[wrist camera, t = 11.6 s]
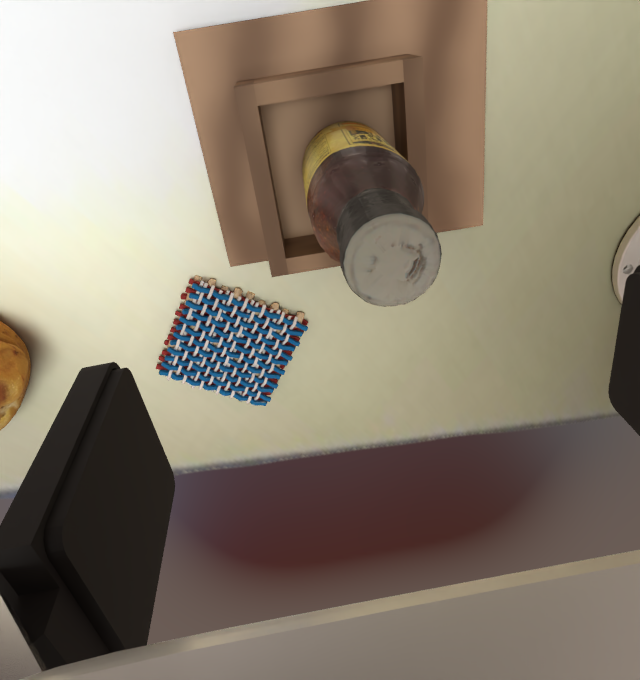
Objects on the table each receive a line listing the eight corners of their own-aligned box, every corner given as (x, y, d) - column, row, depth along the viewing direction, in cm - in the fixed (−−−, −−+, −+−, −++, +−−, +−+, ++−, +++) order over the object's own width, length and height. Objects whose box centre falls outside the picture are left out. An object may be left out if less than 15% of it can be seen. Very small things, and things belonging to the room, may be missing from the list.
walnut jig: (481, -18, 35) (512, -24, 30) (477, 220, 43) (502, 242, 38) (176, 32, 34) (162, 33, 30) (231, 260, 43) (227, 288, 38)
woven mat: (191, 265, 43) (188, 276, 41) (310, 311, 46) (312, 322, 44) (153, 365, 48) (149, 378, 46) (264, 401, 51) (264, 414, 49)
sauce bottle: (403, 166, 39) (510, 276, 22) (338, 223, 41) (390, 366, 24) (346, 92, 36) (417, 153, 19) (278, 157, 38) (289, 265, 21)
